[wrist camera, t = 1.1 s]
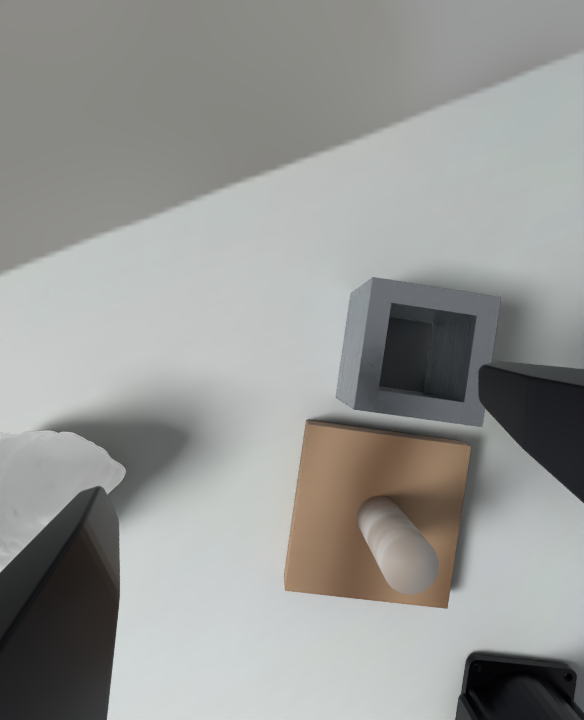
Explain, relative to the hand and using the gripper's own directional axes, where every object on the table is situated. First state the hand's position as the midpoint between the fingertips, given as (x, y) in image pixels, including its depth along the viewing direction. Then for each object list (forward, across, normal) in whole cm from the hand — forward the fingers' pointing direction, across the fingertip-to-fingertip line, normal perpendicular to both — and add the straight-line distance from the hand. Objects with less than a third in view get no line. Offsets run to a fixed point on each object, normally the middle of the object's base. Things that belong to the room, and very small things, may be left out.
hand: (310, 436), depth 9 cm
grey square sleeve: (+12, -8, +5) cm, 15 cm away
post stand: (+9, -5, +12) cm, 16 cm away
